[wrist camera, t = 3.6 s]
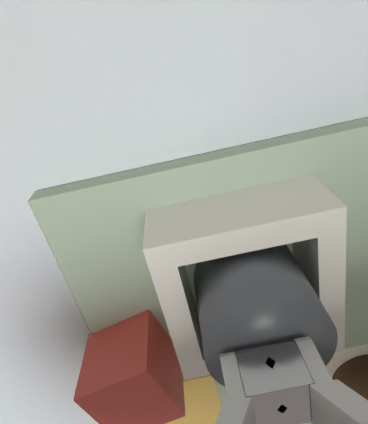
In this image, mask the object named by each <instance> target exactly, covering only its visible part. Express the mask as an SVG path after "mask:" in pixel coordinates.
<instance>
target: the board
mask: <svg viewBox="0 0 368 424" xmlns="http://www.w3.org/2000/svg"><path fill="white" fill-rule="evenodd" d="M308 174H313V175H314V176H315V177H316V178H317V179H318V180H319V181H320V182H321V183H322V184H323V185H324V186H326V187H327V188H328V189H329V190H330V191H331V192H332V193H333V194H334V195H335V196H336V197H337V198H338V199H339V200H340V201H341V202H343V203H344V204H345V205H346V206H347V230H346V291H345V349H341V350H336V351H335V353H334V355H333V357H332V359H331V360H330V362H329V363H328V364H327V366H326V368H327V370H328V372H329V374H330V376H331V378H332V377H333V374H334V372H335V371H336V370H337V369H338V367H339V366H341V365H342V364H343V363H345V362H346V361H348V360H350V359H352V358H354V357H357V356H361V355H366V354H368V117H366V118H361V119H357V120H352V121H348V122H343V123H339V124H334V125H330V126H325V127H321V128H316V129H312V130H307V131H303V132H298V133H294V134H289V135H285V136H280V137H276V138H271V139H267V140H262V141H258V142H253V143H249V144H244V145H240V146H235V147H231V148H226V149H222V150H217V151H213V152H208V153H204V154H199V155H195V156H190V157H186V158H181V159H177V160H172V161H168V162H163V163H159V164H154V165H150V166H145V167H141V168H136V169H132V170H128V171H123V172H119V173H114V174H110V175H105V176H101V177H96V178H92V179H87V180H83V181H78V182H74V183H69V184H65V185H60V186H56V187H51V188H47V189H42V190H38V191H35V192H34V194H33V195H32V196H31V198H30V199H29V200H28V202H29V205H30V207H31V209H32V211H33V213H34V215H35V217H36V219H37V221H38V223H39V226H40V228H41V230H42V232H43V234H44V236H45V238H46V240H47V242H48V244H49V247H50V249H51V251H52V253H53V255H54V257H55V259H56V261H57V263H58V266H59V268H60V270H61V272H62V274H63V276H64V278H65V280H66V282H67V284H68V287H69V289H70V291H71V293H72V295H73V297H74V299H75V301H76V303H77V305H78V308H79V310H80V312H81V314H82V316H83V318H84V320H85V322H86V324H87V326H88V329H89V331H90V333H91V334H93V333H95V332H97V331H100V330H102V329H104V328H107V327H109V326H111V325H113V324H116V323H118V322H120V321H123V320H125V319H127V318H130V317H132V316H134V315H136V314H139V313H141V312H143V311H146V310H148V309H149V310H150V311H151V313H152V314H153V315H154V317H155V318H156V319H157V320H158V322H159V323H160V324H161V326H162V327H163V328H164V330H165V331H166V332H167V334H168V335H169V336H170V333H169V330H168V327H167V324H166V321H165V318H164V315H163V312H162V308H161V305H160V302H159V299H158V296H157V293H156V290H155V287H154V284H153V281H152V277H151V274H150V271H149V268H148V265H147V262H146V259H145V256H144V253H143V238H144V226H145V213H146V209H151V208H156V207H160V206H165V205H170V204H174V203H179V202H183V201H188V200H193V199H197V198H202V197H206V196H211V195H216V194H220V193H225V192H229V191H234V190H239V189H243V188H248V187H253V186H257V185H262V184H266V183H271V182H276V181H280V180H285V179H289V178H294V177H299V176H303V175H308ZM286 245H287V246H288V248H289V249H290V250H291V252H292V254H293V245H292V243H290V244H286ZM196 264H197V263H194V264H189V265H185V268H186V272H187V276H188V280H189V283H190V287H191V291H192V295H193V299H194V303H195V306H196V309H198V307H197V300H196V293H195V285H194V271H195V267H196ZM170 338H171V336H170ZM183 386H184V402H185V416H184V417H181V418H179V419H176V420H173V421H171V422H168V423H165V424H215V422H216V420H217V417H218V415H219V412H220V410H221V408H222V405H223V403H224V402H227V401H228V398H227V393H226V388H225V387H224V386H222V385H221V384H219V383H218V382H217V381H216V380H214V378H213V377H212V376H211V375H207V376H202V377H197V378H191V379H186V380H184V377H183ZM304 424H312V422H310V423H304Z"/></svg>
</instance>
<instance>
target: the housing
mask: <svg viewBox="0 0 368 424" xmlns="http://www.w3.org/2000/svg"><path fill="white" fill-rule="evenodd" d="M346 230H347V206H346V205H345V204H344V203H343V202H341V201H340V200H339V199H338V198H337V197H336V196H335V195H334V194H333V193H332V192H331V191H330V190H329V189H328V188H327V187H326V186H324V185H323V184H322V183H321V182H320V181H319V180H318V179H317V178H316V177H315V176H314V175H313V174H308V175H303V176H299V177H294V178H289V179H285V180H280V181H276V182H271V183H266V184H262V185H257V186H253V187H248V188H243V189H239V190H234V191H229V192H225V193H220V194H216V195H211V196H206V197H202V198H197V199H193V200H188V201H183V202H179V203H174V204H170V205H165V206H160V207H156V208H151V209H146V213H145V226H144V238H143V253H144V256H145V259H146V262H147V265H148V268H149V271H150V274H151V277H152V281H153V284H154V287H155V290H156V293H157V296H158V299H159V302H160V305H161V308H162V312H163V315H164V318H165V321H166V324H167V327H168V330H169V333H170V336H171V339H172V342H173V346H174V349H175V352H176V355H177V358H178V361H179V364H180V367H181V370H182V373H183V377H184V380H186V379H191V378H197V377H202V376H207V375H210V373H209V372H208V370H207V367H206V365H205V359H204V352H203V344H202V337H201V329H200V322H199V315H198V309H196V306H195V303H194V299H193V295H192V291H191V287H190V283H189V280H188V276H187V272H186V268H185V265H189V264H194V263H199V262H203V261H208V260H213V259H218V258H223V257H227V256H232V255H237V254H242V253H246V252H251V251H256V250H261V249H266V248H270V247H275V246H280V245H285V244H290V243H292V245H293V256H294V257H295V259H296V261H297V262H298V264H299V266H300V267H301V269H302V271H303V272H304V274H305V276H306V277H307V279H308V281H309V282H310V284H311V286H312V287H313V289H314V291H315V292H316V294H317V296H318V298H319V299H320V301H321V303H322V304H323V306H324V308H325V309H326V311H327V313H328V314H329V316H330V318H331V319H332V321H333V323H334V325H335V327H336V330H337V336H338V341H337V347H336V350H341V349H345V291H346Z"/></svg>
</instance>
